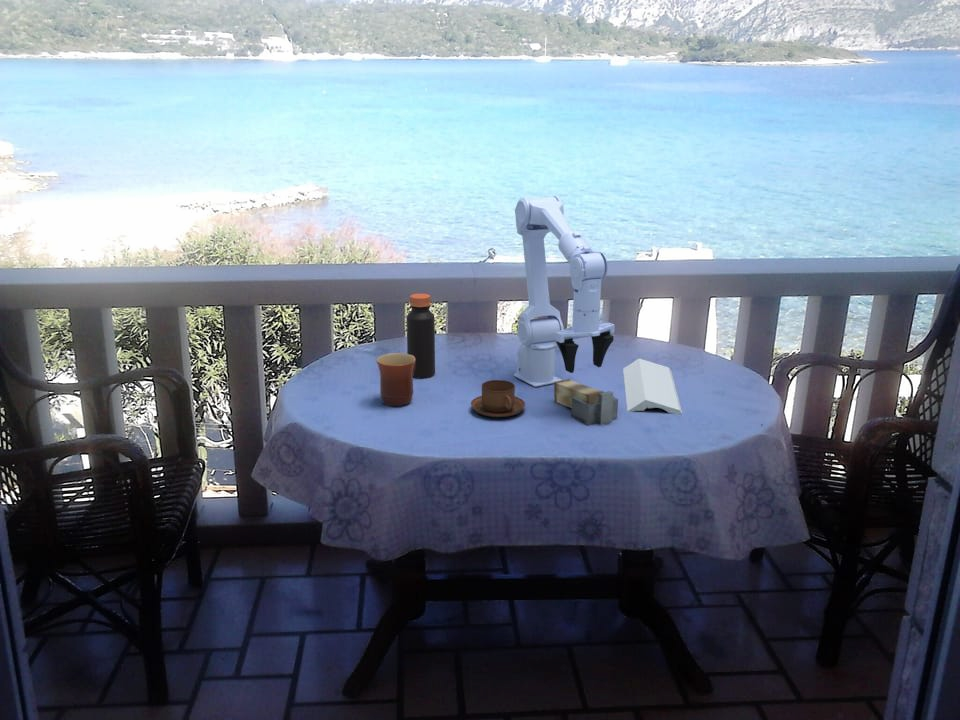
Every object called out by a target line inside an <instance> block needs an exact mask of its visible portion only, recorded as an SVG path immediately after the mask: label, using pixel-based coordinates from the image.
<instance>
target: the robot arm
mask: <svg viewBox="0 0 960 720" xmlns="http://www.w3.org/2000/svg"><path fill="white" fill-rule="evenodd" d="M564 211H565V210H564V203H563V202H562V200H561V198H560V197H559V196H557V195H552V196H543V197H542V196H541V197H540V196H539V197H521V198H519V199H518V200H517V203H516V207H515V209H514V216H515V224H516V225H515V226H516V233H517V234H518V235H519V236H522V246H523V247H522V248H523V256H524V257H523V258H524V267H525V277H526V278H525V279H526V288H527V299H528V306H527V307H526V308H525V309H524V310H522V312H520V314H519V315H518V326H517V335H518V339H519V341H520V345H519V347H518V349H517V361H516V363H517V364H516V373H514V374H513V376H514V377H516V378H517V379H519V380H521V381H523V382H525V383H526V384H529V385H530V386H533V387H534V388H537V387H542V386H546V385H551V384H554V382H557V381H561V380H562V378H559V377H557V376H555V369H556V367H555V364H556V347H558V349H559V351H560V354H561V356H562V359H563V364H564V370H565V371H566V372H568V373H569V374H573V373H574V372H575V366H576V365H575V363H576V355H577V352H578V350H579V349H578V348H579V347H580V346H579V344H577V343H576V342H575V341H574V340H578V339H583V338H588V337H591V342H592V362H593V363H592V365H594V366H596V367H598V368H602V365H603V363H604V358H605V356H606V353H607V352H608V350H609V348H610V346H611V344H612V343H613V342H614V335H612V334H615V326H616V325H615V324H614V323H612V322H604V323H603V322H601V323H600V316H601V315H600V314H601V311H600V309H601V294H602V280H603V279H605V278H606V276H607V274H608V261H607V258H606V255H605V254H604V252H602V251H597V249H596V250H595V249H594V250H593V248H592V247H591V246H590V244H589V243H588V242H587V240H586V239H585V237H584V236H583V235H582V234H581V232H580V231H577V230H572V228H571V226H570V223H568V221H567V219H566V217H565V216H564ZM549 233H552V234H553V235H554V236H555V237H556V238H557V240H558V243H557V244H558V245H557V247H558V249H559V251H560V253H562V255H563V257H564V259H566V261H567V262H568V264H569V265H568V266H569V273H570V274H569V275H570V277H571V288H573V304H572V306H573V307H572V326H569V327H567V328H564V324H563V321H562V318H561V313H560V310H559V309H557V308H556V307H554V306H553V305H551V302H550V301H551V299H550V291H549V282H548V281H549V280H548V270H547V268H548V267H547V259H546V250H545V249H546V248H545V237H546V236H547V234H549ZM538 317H540V318H538ZM541 317H543V318H541Z"/></svg>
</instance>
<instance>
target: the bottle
mask: <svg viewBox="0 0 960 720" xmlns="http://www.w3.org/2000/svg"><path fill="white" fill-rule="evenodd" d="M431 301H432V300H431V295H430V294H427V293H413V294H411V295H410V296H409V305H410V308H411V310H410V311H409V312H408V314H407V315H406V349H407V350H406V352H407V353H406V354H411V355H414V357H415V359H416V360H415V371H414V375H413V379H428V378H431V377H433V376H435V374H436V343H435V341H436V340H435V339H436V337H435V336H436V332H435V331H436V330H435V328H436V326H435V324H436V323H435V321H436V320H435V314H434V313H433V312H432V311H431V310H430V307H431Z"/></svg>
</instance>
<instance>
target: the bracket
mask: <svg viewBox="0 0 960 720" xmlns="http://www.w3.org/2000/svg"><path fill="white" fill-rule="evenodd" d="M618 408H619V399H618V398H617V397H614V392H613V391H610V390H608V391H604V392H603V393H599V397H598V402H595V403H591V404H589V403H587V402H585V401H583V400H581V399H580V398H578V397H576V396H575V397H572V407H571V410H570V417H572V418H574V419H576V420H577V421H578V422H579V421H580V422H581V423H583V424H585V425H587V426H591V425H595V424H598V425H600V426H601V425H605V424H606V425H607V424H609V423H612V421H613V420H616V419H618V411H619V409H618Z"/></svg>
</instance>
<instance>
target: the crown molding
mask: <svg viewBox="0 0 960 720" xmlns="http://www.w3.org/2000/svg"><path fill="white" fill-rule="evenodd" d="M622 371H623V381H624V391H625V399H626V400H625V401H626V408H627V410H626V411H627V412H634V413H635V412H644V411H645V410H646V409H655V408H658V409H662V410H664V411H666V412H667V413H669V414H676V415H678V414H679V415H683V411H682V408H681V403H680V399H679V396H678V392H677V389H676V388H677V387H676V385H675V384H676V383H675V381H674V377H673V372H672V370H671V368H670V367H669V366H665V365H662V364H658V363H655V362H652V361H648V360H646V359H642V358H637V359H636V360H634V361H633V362H631V363H630V364H627V366H625V367H623V368H622Z"/></svg>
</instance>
